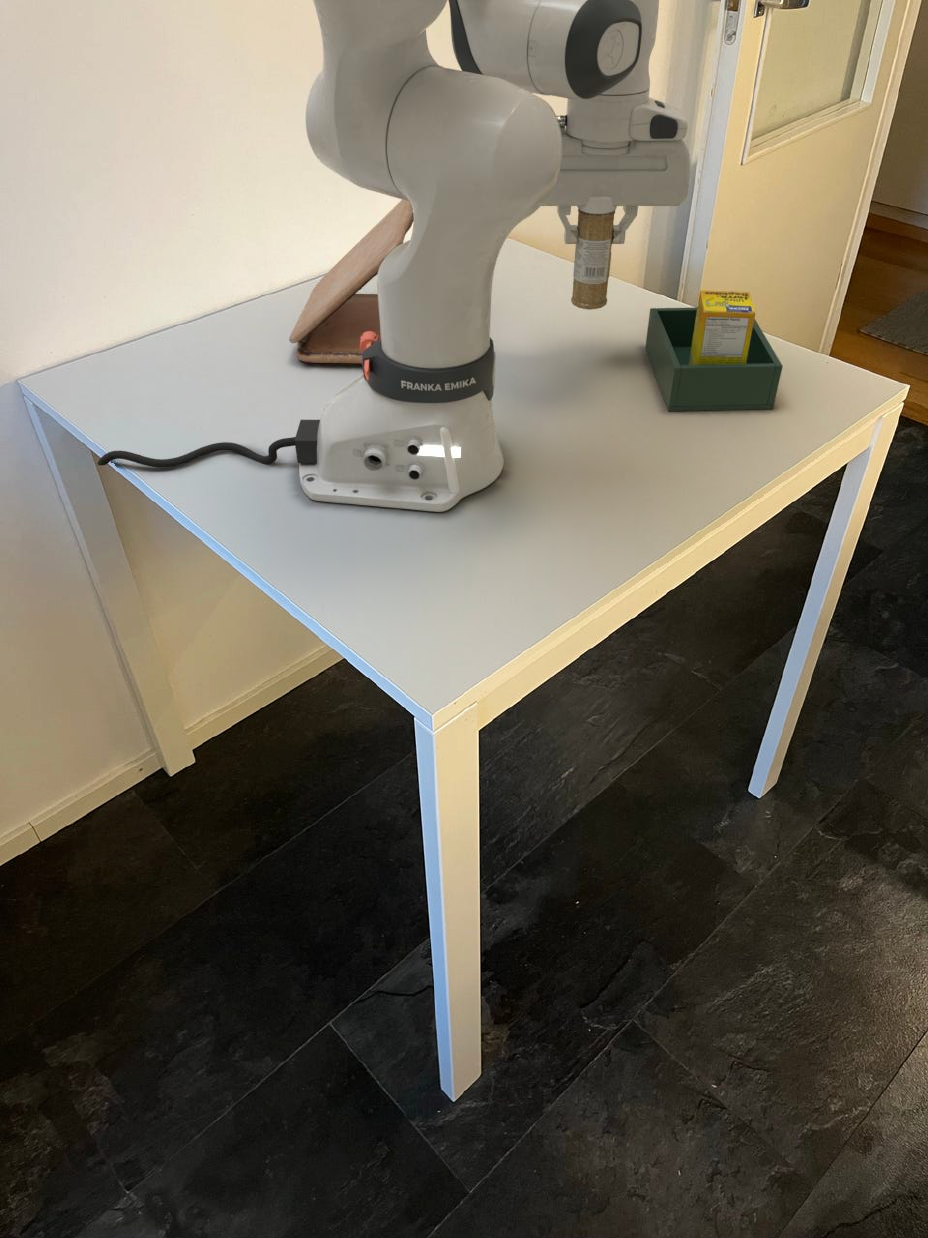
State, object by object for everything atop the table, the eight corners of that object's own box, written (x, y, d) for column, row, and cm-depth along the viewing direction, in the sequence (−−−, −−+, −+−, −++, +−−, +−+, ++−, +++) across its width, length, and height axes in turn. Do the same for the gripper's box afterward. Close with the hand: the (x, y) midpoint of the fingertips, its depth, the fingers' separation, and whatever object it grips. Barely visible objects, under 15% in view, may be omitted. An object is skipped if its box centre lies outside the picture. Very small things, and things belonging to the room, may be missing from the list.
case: (318, 301, 139) (305, 185, 129) (462, 305, 138) (460, 188, 127) (286, 366, 124) (268, 241, 113) (448, 371, 123) (445, 245, 112)
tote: (668, 411, 115) (674, 368, 111) (645, 348, 127) (650, 307, 123) (773, 409, 115) (782, 365, 111) (739, 346, 127) (747, 305, 123)
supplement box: (734, 375, 120) (750, 290, 113) (739, 398, 115) (757, 311, 108) (686, 373, 120) (699, 288, 113) (689, 396, 116) (703, 310, 109)
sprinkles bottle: (608, 298, 121) (620, 186, 112) (604, 312, 118) (615, 198, 109) (573, 294, 122) (581, 183, 113) (567, 308, 119) (575, 195, 110)
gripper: (514, 122, 103) (509, 251, 112) (702, 122, 104) (682, 251, 113) (510, 108, 108) (506, 233, 117) (690, 108, 109) (672, 233, 118)
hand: (594, 242), depth 115 cm, fingers closed on sprinkles bottle, 4 cm apart
